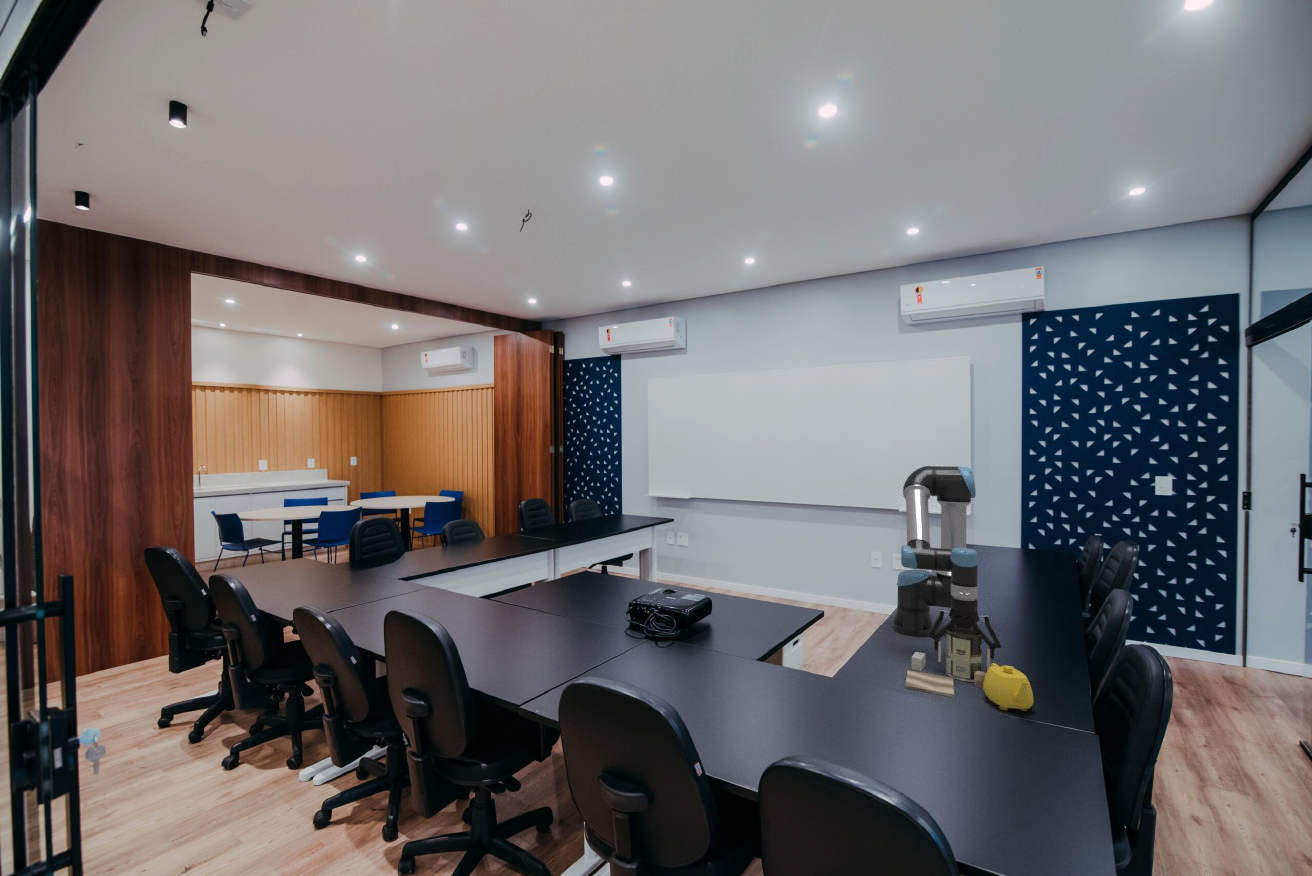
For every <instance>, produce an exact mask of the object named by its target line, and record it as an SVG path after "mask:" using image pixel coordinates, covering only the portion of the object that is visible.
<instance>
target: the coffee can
mask: <svg viewBox="0 0 1312 876" xmlns="http://www.w3.org/2000/svg"><path fill="white" fill-rule="evenodd" d="M946 632H947V633H946V634H945V674H946V675H947V677H951V678H953V680H954V679H955V680H958V681H962V682H966V683H967V682H969V683H974V673H975V672H977V671H981V672H983V671H982V670H983V662H982V661H983V649H982V648H983V639H982V635H979V634H978V633H977V632H976V631H975V630H974V629H973V628H970V629H969V628H965V627H958V626H956V625H955V626H954V627H953V628H951V629H950V630H946Z"/></svg>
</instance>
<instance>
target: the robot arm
mask: <svg viewBox="0 0 1312 876" xmlns="http://www.w3.org/2000/svg"><path fill="white" fill-rule="evenodd" d="M973 473H974V472H973V471H972V470H971V468H969V467H967V466H966V467H965V466H941V465H940V466H939V465H938V466H935V465H933V466H932V465H926V466H921V467H919V468H917V469H916V470H914V471H913V472H911V473H910V475H908V477H907V478H906V480H905V482H904V484H903V487H902V489H903V490H902V497H903V498H904V500H905V507H906V509H905V511H906V512H905V513H906V515H905V517H906V545H902V546H901V548H900V556H901V557H900V558H901V559H900V561H901V562H900V564H901V566H902V567H903V568H907V569H908V570H904V571H901V572H899V574H898V575H897V583H896V585H897V602H896V603H897V606H896V607H897V609H896V612H895V614H894V618H893V620H892V629H893V630H894V631H895V632H896V633H899V634H902V635H906V636H911V637H918V638H919V637H922V638H930V639H932V640H934V641H933V642H934V643H933V645H934V651H937V652H938V655H937V657H938V659H937V661H938V663H941V662H942V638H943V637H944V636H946V633H947V632H946V630H950V629H951V628H953V627H954V626H958V627H965V628H969V629H970V628H972V629H974V630H975V631H976V632H977V633H978V634H979V635H982V641H983V642H985V644H986V645H987V646H986V670H987V671H988V669H989V668H990V667H991V660H994V659H995V650H996V649H1001V648H1002V645H1001V641H1000V640H999V638H998V637H997V634H996V632H995V630H994V629H993V627H992V625H991V622H990V618H989V615H988V614H984V615H979V614H978V603H979V602H978V600H977V599H978V595H979V594H978V592H979V591H978V590H979V588H978V574H979V573H978V570H979V569H978V568H979V567H978V566H979V558H978V557H979V555H978V552H977V550H975V549H972V548H967V507H968V506H969V505H970V504H971V503H972V499H975V498H976V495H977V494H976V483H975V477H974V474H973ZM931 497H936V502H937V503H938V504H940V506H941V507H940V510H941V512H940V516H941V517H940V518H941V519H940V547H939V548H938V547H931V535H930V534H931V532H930V514H929V500H930V499H931ZM930 571H936V574H935V575H932V574H931V572H930ZM931 607H938V608H941V609H939V615H938V617H937V619H936V620H935V622H934V620H933V617H932V616H931V609H930V608H931ZM943 608H948V609H950V610H949V611H947V610H944V609H943ZM947 616H949V618H950V619H951V620H950V621H949V622H948V623H947V624H946V625H945V626H943V627H942V628H941V629H940V630H939V631H938V632H937V630H938V629H939V627H940V625H941V624H942V623H943V620H944V619H946V618H947ZM979 621H981V623H983V624H985V626H986V629H987V631H988V632H989V635H990V637H991V638H992V640H993V641H992V640H991V639H989V637H988V636H987V634H986V633H984V631H983V630H982V628H980V627H979V625H978V624H977V623H978V622H979ZM936 632H937V633H936Z"/></svg>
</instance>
